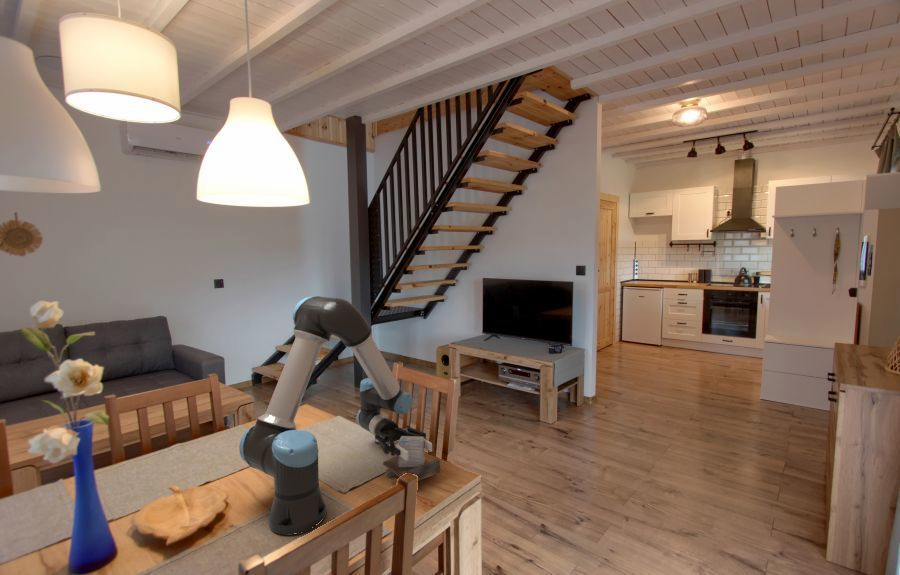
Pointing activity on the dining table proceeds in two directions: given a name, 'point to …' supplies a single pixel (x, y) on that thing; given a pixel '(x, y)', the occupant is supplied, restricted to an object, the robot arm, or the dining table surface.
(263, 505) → the dining table surface
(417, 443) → the medicine box
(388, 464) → the roller slab
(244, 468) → the dining table surface
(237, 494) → the dining table surface
